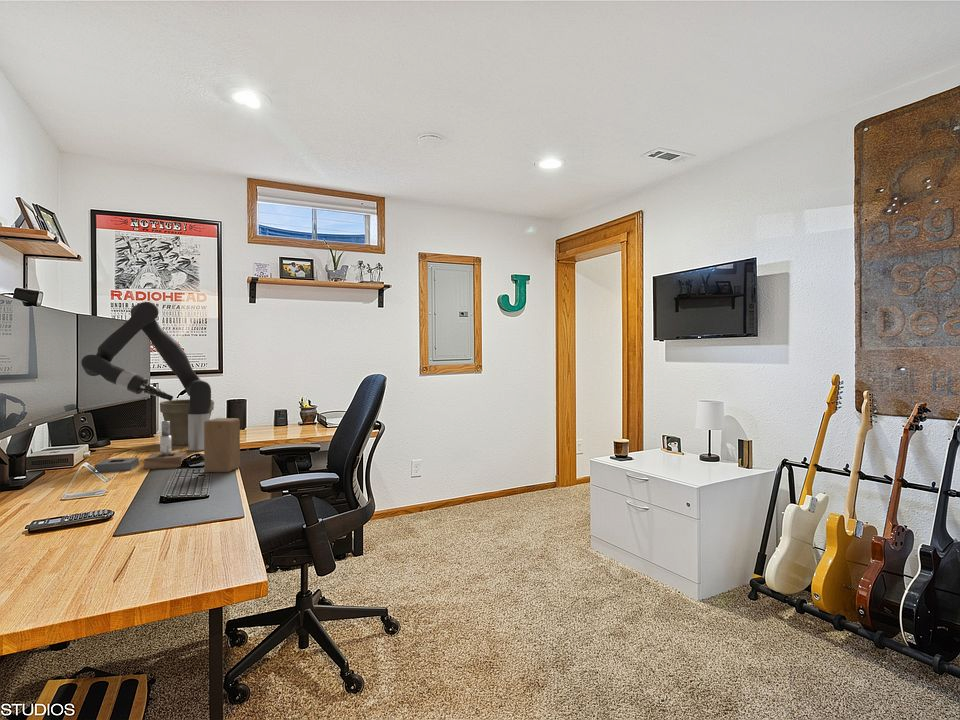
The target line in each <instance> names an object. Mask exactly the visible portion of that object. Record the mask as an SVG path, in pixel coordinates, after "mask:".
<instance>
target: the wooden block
mask: <svg viewBox="0 0 960 720" xmlns="http://www.w3.org/2000/svg"><path fill="white" fill-rule="evenodd" d="M240 423H241V421H240V418H237V417H236V418H235V417H231V418H230V417H229V418H228V417H224V418H223V417H219V418H218V417H216V418H212V419H210V420H207V421H205V422H204V450H203V451H204V452H203V459H204V460H203V462H204V463H203V465H204V466H203V468H204V469H203V470H204V473H230V472H232V471H234V470H237V469H239V468H240V467H241V447H240V446H241V437H240V436H241V429H240V428H241V424H240Z"/></svg>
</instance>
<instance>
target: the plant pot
mask: <svg viewBox="0 0 960 720" xmlns="http://www.w3.org/2000/svg"><path fill="white" fill-rule="evenodd" d="M189 405H190V398H189V399H172V400H171V401H169V400H165V401H160V402H159V411H160V413H162V417H163V420H164V421H170V435H171V445H174V446H188V408H189ZM214 408H215V401H214V399H213V400H212V399H211V407H210V417H211V415H212V411H213V410H214Z"/></svg>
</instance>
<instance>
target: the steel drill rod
mask: <svg viewBox="0 0 960 720" xmlns="http://www.w3.org/2000/svg"><path fill="white" fill-rule="evenodd" d="M159 437H160V438H159V441H160V443H159V444H160V446H159V448H160V449H159V450H160V457H166V456H172V453H173V452H172V443H171V435H170V421H161V435H160V436H159Z"/></svg>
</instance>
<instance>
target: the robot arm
mask: <svg viewBox="0 0 960 720" xmlns="http://www.w3.org/2000/svg"><path fill="white" fill-rule="evenodd" d="M159 312H160V310H159V308H158V306H157V305H156V304H155V303H154V302H151V301H143V302H140V303H138V304H135V305H133V306H132V307H131V309H130V316H131V317H130V318H128V319H127V321H126V322H124V324H122V325H121V326H120V327H119V328H117V329H116V330H115V331H114V332H112V333H111V334H110V335H109V336H108V337H107V338H106V339H105V340H103V342H102V343H101V344H99V346H98V348H97V352H96V354H86V355H85V356H83V357H82V359H81V361H80V362H81V367H82V368H83V370H84V372H85V374H86V375H87V376H90V377H97V376H101V377H102V378H103V379H104V380H106V381H107V382H108V383H112V384H114V385H116V386H118V387H120V388H122V389H124V390H126V391H129V392H131V393H132V394H133V393H134V394H136V395H140V394H141V393H145V394H147V395H151V396H153V397H157V398H158V397H159V398H161V399H163V400H166V401H171V400H174V396H173V395H171V394H168V393H167V392H165V391H162V390H161V388H158V387H155V385H152V384H148V383H149V382H148V381H149V380H148V378H147V377H145V376H143V375H142V376H141V375H140V374H137V373H136V372H133V371H130V370H127V369H124V368H122V367H120V366H117V365H115V364H113V363H112V361H113V359H114V358H115V356H116V355H118V354H119V353H120V352H121V351H122V350H123V348H124V347H125V346H126V345H127V344H128V343H129V342H130V341H131V340H132V339H133V338H134V337H135V336H136V335H137V334H138V333H139V332H140V331H142V332H143V333H144V334H145V335H146V336H147V338H148V340H149V341H150V343H151V344H152V345H153V347H154V349H156V351H157V352H158V354H159V356H160V357H161V359H162V360H163V361H164V362H165V363H166V365H167V366H168V367H169V368H170V369H171V371H172V372H173V374H175V375H176V377H177V378H178V380H179V381H180V383H181V385H182V386H183V388H184V391H185V392H186V393H187V395H188V397H189V399H190V405H189V408H188V445H187V447H188V449H187V451H193V452H197V451H204V422H205V421H207V420H211V416H210V407H211V400H212V388H211V385H210V384H209V382H207V381H205V380H202V379H201V378H200V377H199V376H198V375H197V374H196V372H195V370H194V369H193V368H192V366H191V362H190V360H189V359H188V356H187V354H186V351H185V350H184V349H183V347H182V346H181V345H180V343H179V342H178V341H177V340H176V339H175V338H174V337H172V335H170V334H169V333H168V332H166V331H165V330H164V329H163V328H162V327H161V325H160V324H159V322H158V321H157V318H158V316H159Z"/></svg>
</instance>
